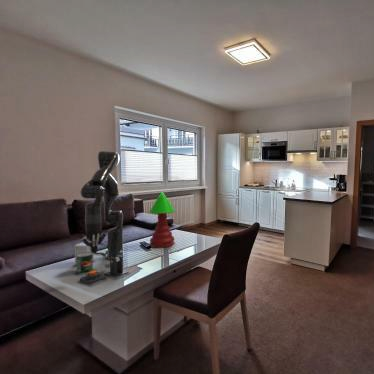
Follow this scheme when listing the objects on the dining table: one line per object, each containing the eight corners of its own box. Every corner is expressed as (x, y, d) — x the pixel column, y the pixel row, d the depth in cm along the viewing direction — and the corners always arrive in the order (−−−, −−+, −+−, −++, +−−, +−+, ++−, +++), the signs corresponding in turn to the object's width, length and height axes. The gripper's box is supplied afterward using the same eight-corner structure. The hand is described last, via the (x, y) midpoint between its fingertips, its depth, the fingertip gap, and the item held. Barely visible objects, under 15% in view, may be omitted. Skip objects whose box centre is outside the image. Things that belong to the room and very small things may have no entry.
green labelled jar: (93, 261, 155) (93, 242, 155) (87, 265, 149) (86, 245, 148) (81, 261, 156) (81, 242, 155) (74, 265, 149) (74, 245, 148)
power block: (79, 282, 127) (79, 274, 126) (94, 276, 134) (94, 269, 134) (91, 286, 123) (91, 278, 122) (106, 279, 130) (105, 272, 130)
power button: (87, 275, 127) (87, 272, 127) (94, 272, 130) (94, 269, 130) (91, 276, 126) (91, 273, 126) (98, 274, 129) (98, 270, 129)
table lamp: (144, 244, 193) (144, 191, 191) (165, 239, 210) (165, 190, 207) (158, 249, 182) (158, 193, 180) (179, 243, 198) (179, 191, 196)
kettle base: (104, 275, 135) (104, 257, 134) (117, 270, 142) (116, 253, 142) (115, 279, 131) (115, 260, 130) (128, 273, 138) (128, 256, 138)
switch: (104, 269, 139) (102, 264, 139) (109, 267, 141) (107, 262, 142) (116, 262, 134) (114, 257, 134) (121, 260, 137) (119, 255, 137)
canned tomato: (82, 269, 143) (81, 251, 142) (95, 269, 144) (95, 251, 143) (73, 274, 135) (72, 256, 135) (87, 274, 136) (87, 256, 135)
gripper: (101, 218, 135) (101, 248, 136) (76, 223, 123) (77, 255, 124) (109, 220, 131) (110, 250, 133) (84, 225, 119) (85, 257, 121)
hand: (94, 252), depth 128 cm, fingers closed
